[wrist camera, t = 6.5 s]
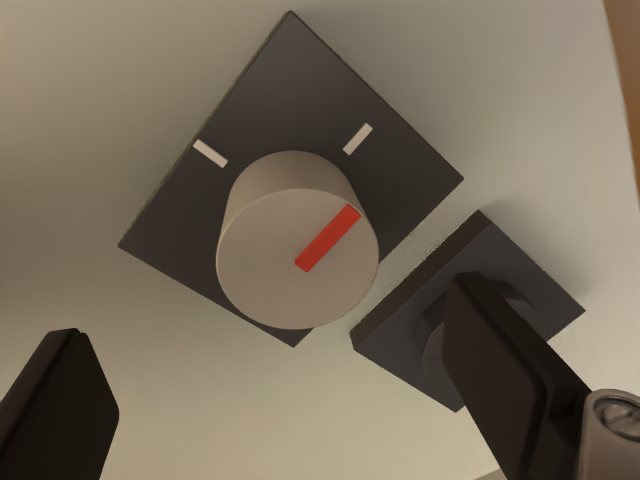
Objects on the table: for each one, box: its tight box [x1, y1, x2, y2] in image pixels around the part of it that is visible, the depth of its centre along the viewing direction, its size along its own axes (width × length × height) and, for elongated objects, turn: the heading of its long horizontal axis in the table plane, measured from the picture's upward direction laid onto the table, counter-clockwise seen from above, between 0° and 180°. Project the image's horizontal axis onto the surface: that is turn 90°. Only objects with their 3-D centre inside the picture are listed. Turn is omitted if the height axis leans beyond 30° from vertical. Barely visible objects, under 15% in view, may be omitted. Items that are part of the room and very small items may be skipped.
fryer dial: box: [216, 150, 379, 329], centre depth 16 cm, size 6×6×5 cm
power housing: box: [349, 210, 586, 413], centre depth 26 cm, size 11×10×4 cm
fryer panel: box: [117, 10, 464, 348], centre depth 20 cm, size 12×10×4 cm
